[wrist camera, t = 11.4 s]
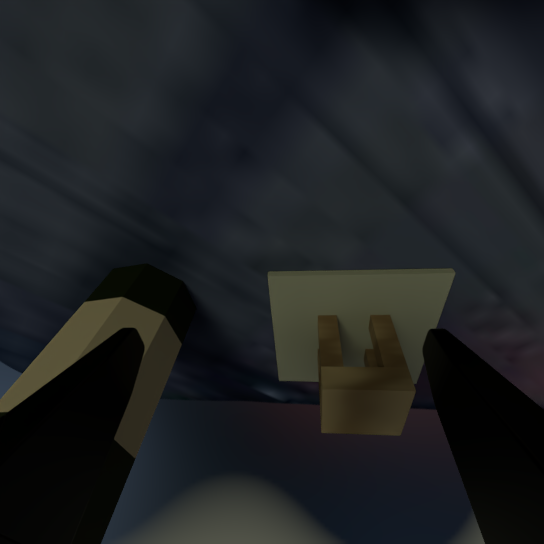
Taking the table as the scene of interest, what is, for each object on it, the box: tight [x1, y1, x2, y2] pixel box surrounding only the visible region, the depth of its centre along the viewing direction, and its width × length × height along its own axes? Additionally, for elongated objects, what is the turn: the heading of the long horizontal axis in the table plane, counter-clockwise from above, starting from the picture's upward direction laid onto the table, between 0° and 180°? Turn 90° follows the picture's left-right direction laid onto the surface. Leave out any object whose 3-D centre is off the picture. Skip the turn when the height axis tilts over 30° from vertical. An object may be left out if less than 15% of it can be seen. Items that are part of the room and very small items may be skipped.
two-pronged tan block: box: [318, 315, 416, 436], centre depth 24 cm, size 6×6×7 cm
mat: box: [268, 268, 455, 384], centre depth 27 cm, size 14×14×1 cm
